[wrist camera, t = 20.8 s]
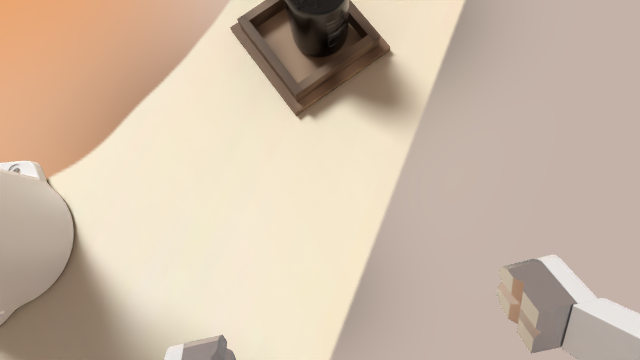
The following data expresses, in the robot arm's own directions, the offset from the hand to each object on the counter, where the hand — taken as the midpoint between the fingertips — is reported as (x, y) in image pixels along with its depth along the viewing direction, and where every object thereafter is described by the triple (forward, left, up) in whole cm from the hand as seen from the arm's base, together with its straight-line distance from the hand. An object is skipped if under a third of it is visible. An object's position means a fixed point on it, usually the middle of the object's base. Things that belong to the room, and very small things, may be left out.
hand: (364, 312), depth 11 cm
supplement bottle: (-6, +28, -31) cm, 42 cm away
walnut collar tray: (-7, +27, -31) cm, 42 cm away
